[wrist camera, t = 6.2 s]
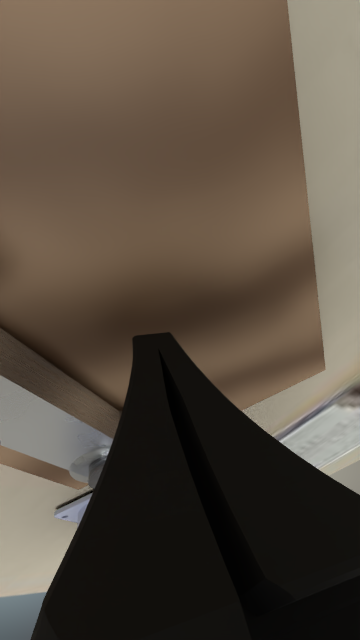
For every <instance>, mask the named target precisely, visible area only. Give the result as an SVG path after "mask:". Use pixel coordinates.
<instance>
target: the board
mask: <svg viewBox="0 0 360 640" xmlns="http://www.w3.org/2000/svg"><path fill="white" fill-rule="evenodd" d="M0 328H1V329H2V330H4V331H5V332H7V333H8V334H9V335H11V336H12V337H14V338H15V339H17V340H18V341H19V342H21V343H22V344H24V345H25V346H27V347H28V348H29V349H31V350H32V351H34V352H35V353H37V354H38V355H39V356H41V357H42V358H44V359H45V360H47V361H48V362H49V363H51V364H52V365H54V366H55V367H57V368H58V369H59V370H61V371H62V372H64V373H65V374H67V375H68V376H69V377H71V378H72V379H74V380H75V381H77V382H78V383H79V384H81V385H82V386H84V387H85V388H87V389H88V390H89V391H91V392H92V393H94V394H95V395H97V396H98V397H99V398H101V399H102V400H104V401H105V402H107V403H108V404H109V405H111V406H112V407H114V408H115V409H117V410H118V411H122V410H123V406H124V402H125V398H126V394H127V390H128V386H129V380H130V375H131V369H132V361H133V347H132V338H133V337H134V336H136V335H145V334H155V333H165V332H170V333H171V334H172V335H173V336H174V338H175V339H176V340H177V342H178V343H179V344H180V346H181V347H182V348H183V350H184V351H185V352H186V353H187V355H188V356H189V357H190V358H191V360H192V361H193V362H194V363H195V364H196V366H197V367H198V368H199V369H200V370H201V371H202V372H203V373H204V375H205V376H206V377H207V378H208V379H209V380H210V381H211V382H212V383H213V384H214V385H215V386H216V387H217V388H218V389H219V390H220V391H221V392H222V393H223V394H224V395H225V396H226V397H227V398H228V399H229V400H230V401H231V402H232V403H233V404H234V405H235V406H236V407H237V408H238V409H240V410H241V411H242V410H244V409H246V408H248V407H250V406H252V405H254V404H256V403H258V402H260V401H262V400H264V399H266V398H268V397H270V396H272V395H274V394H277V393H279V392H281V391H283V390H285V389H287V388H289V387H291V386H293V385H295V384H297V383H299V382H301V381H303V380H305V379H307V378H309V377H312V376H314V375H316V374H318V373H320V372H322V371H324V370H325V360H324V351H323V341H322V331H321V322H320V312H319V303H318V293H317V283H316V274H315V264H314V255H313V245H312V235H311V226H310V216H309V206H308V197H307V187H306V178H305V168H304V158H303V149H302V139H301V130H300V120H299V110H298V101H297V91H296V82H295V72H294V62H293V53H292V43H291V34H290V24H289V14H288V5H287V0H0ZM0 463H1V464H3V465H6V466H9V467H12V468H15V469H18V470H21V471H24V472H27V473H30V474H33V475H36V476H39V477H42V478H45V479H48V480H51V481H54V482H57V483H60V484H63V485H66V486H69V487H72V488H75V489H78V490H79V489H81V488H83V487H85V486H87V485H89V484H88V483H84V482H80V481H77V480H75V479H74V478H72V477H71V475H70V473H69V470H66V469H64V468H61V467H58V466H56V465H53V464H50V463H47V462H45V461H42V460H39V459H37V458H34V457H31V456H29V455H26V454H23V453H20V452H18V451H15V450H12V449H10V448H7V447H4V446H2V445H0Z"/></svg>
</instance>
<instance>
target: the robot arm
mask: <svg viewBox="0 0 360 640" xmlns="http://www.w3.org/2000/svg"><path fill="white" fill-rule="evenodd" d="M132 347H133V361H132V369H131V375H130V380H129V386H128V390H127V394H126V398H125V402H124V406H123V410H122V413H121V417H120V420H119V423H118V427H117V430H116V433H115V436H114V439H113V442H112V445H111V447H110V450H109V453H108V456H107V458H106V461H105V464H104V467H103V469H102V472H101V474H100V477H99V479H98V482H97V484H96V487H95V489H94V491H93V493H91V494H89V495H87V496H84V497H82V498H80V499H78V500H76V501H74V502H72V503H70V504H68V505H66V506H64V507H62V508H60V509H57V510H56V511H55V514H54V517H55V518H58V519H63V520H67V521H72V522H77V523H78V527H77V530H76V533H75V535H74V537H73V539H72V541H71V543H70V545H69V548H68V550H67V552H66V554H65V556H64V558H63V560H62V562H61V564H60V566H59V568H58V570H57V573H56V575H55V577H54V579H53V581H52V583H51V585H50V587H49V589H48V591H47V593H46V596H45V598H44V600H43V603H42V607H41V610H40V613H39V616H38V619H37V623H36V625H35V628H34V631H33V634H32V637H31V640H360V495H359V494H357V493H355V492H354V491H352V490H350V489H349V488H347V487H345V486H344V485H342V484H341V483H339V482H337V481H335V480H334V479H332V478H331V477H329V476H328V475H326V474H324V473H323V472H321V471H320V470H318V469H317V468H315V467H314V466H313V465H311V464H310V463H308V462H307V461H305V460H304V459H302V458H301V457H299V456H298V455H296V454H295V453H294V452H292V451H291V450H290V449H288V448H287V447H286V446H284V445H283V444H282V443H280V442H279V441H278V440H276V439H275V438H274V437H272V436H271V435H270V434H268V433H267V432H266V431H264V430H263V429H262V428H261V427H259V426H258V425H257V424H256V423H255V422H253V421H252V420H251V419H250V418H249V417H247V416H246V415H245V414H244V413H243V412H242V411H241V410H240V409H238V408H237V407H236V406H235V405H234V404H233V403H232V402H231V401H230V400H229V399H228V398H227V397H226V396H225V395H224V394H223V393H222V392H221V391H220V390H219V389H218V388H217V387H216V386H215V385H214V384H213V383H212V382H211V381H210V380H209V379H208V378H207V377H206V376H205V375H204V373H203V372H202V371H201V370H200V369H199V368H198V367H197V366H196V364H195V363H194V362H193V361H192V360H191V358H190V357H189V356H188V355H187V353H186V352H185V351H184V350H183V348H182V347H181V346H180V344H179V343H178V342H177V340H176V339H175V338H174V336H173V335H172V334H171V333H170V332H165V333H155V334H145V335H136V336H134V337H133V338H132Z"/></svg>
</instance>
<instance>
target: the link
mask: <svg viewBox="0 0 360 640" xmlns="http://www.w3.org/2000/svg"><path fill="white" fill-rule="evenodd" d="M121 413H122V411H118V410H117V409H115V408H114V407H112V406H111V405H109V404H108V403H107V402H105V401H104V400H102V399H101V398H99V397H98V396H97V395H95V394H94V393H92V392H91V391H89V390H88V389H87V388H85V387H84V386H82V385H81V384H79V383H78V382H77V381H75V380H74V379H72V378H71V377H69V376H68V375H67V374H65V373H64V372H62V371H61V370H59V369H58V368H57V367H55V366H54V365H52V364H51V363H49V362H48V361H47V360H45V359H44V358H42V357H41V356H39V355H38V354H37V353H35V352H34V351H32V350H31V349H29V348H28V347H27V346H25V345H24V344H22V343H21V342H19V341H18V340H17V339H15V338H14V337H12V336H11V335H9V334H8V333H7V332H5V331H4V330H2V329H1V328H0V445H2V446H4V447H7V448H10V449H12V450H15V451H18V452H20V453H23V454H26V455H29V456H31V457H34V458H37V459H39V460H42V461H45V462H47V463H50V464H53V465H56V466H58V467H61V468H64V469H66V470H69V473H70V475H71V477H72V478H74V479H75V480H77V481H80V482H84V483H88V484H89V486H90V487H91V488H93V489H95V487H96V484H97V482H98V479H99V477H100V474H101V472H102V469H103V467H104V464H105V461H106V458H107V456H108V453H109V450H110V447H111V445H112V442H113V439H114V436H115V433H116V430H117V427H118V423H119V420H120V417H121Z"/></svg>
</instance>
